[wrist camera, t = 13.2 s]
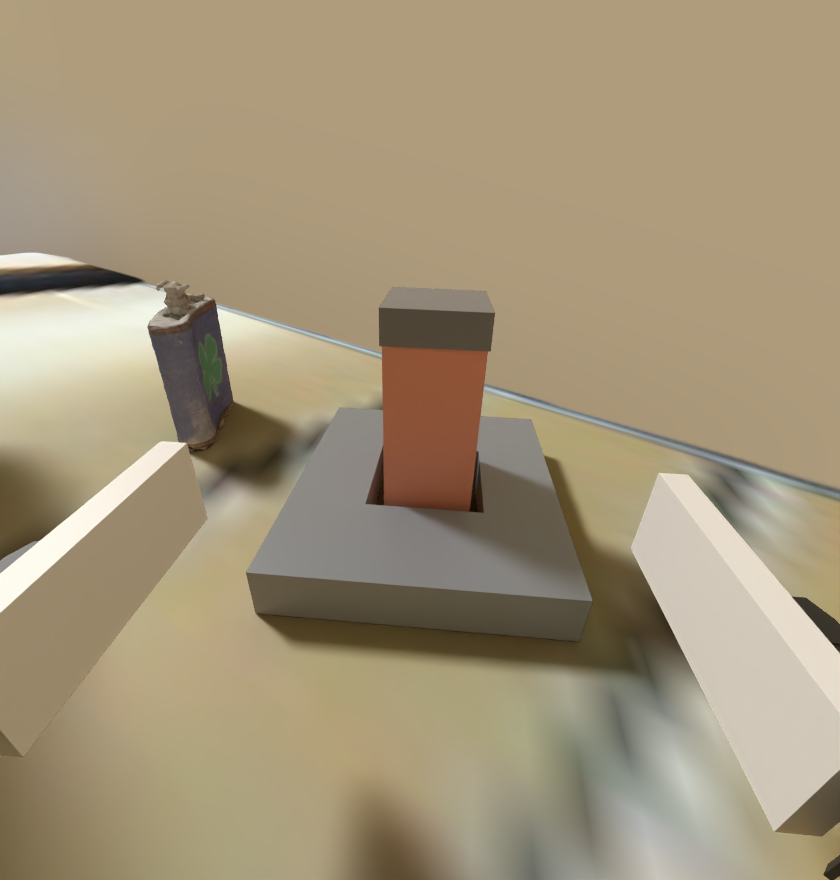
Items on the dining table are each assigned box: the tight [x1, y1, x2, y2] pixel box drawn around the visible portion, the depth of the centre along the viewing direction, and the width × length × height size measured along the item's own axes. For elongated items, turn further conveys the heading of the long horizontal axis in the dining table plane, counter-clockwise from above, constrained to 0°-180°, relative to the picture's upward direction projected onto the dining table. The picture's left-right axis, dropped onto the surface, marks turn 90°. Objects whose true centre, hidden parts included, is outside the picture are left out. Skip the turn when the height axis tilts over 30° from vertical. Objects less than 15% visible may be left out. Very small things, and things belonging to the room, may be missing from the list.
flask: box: [148, 280, 234, 451], centre depth 31 cm, size 9×3×11 cm, turn 9°
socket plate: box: [246, 407, 593, 642], centre depth 25 cm, size 14×16×2 cm
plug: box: [379, 287, 495, 512], centre depth 22 cm, size 5×5×12 cm
